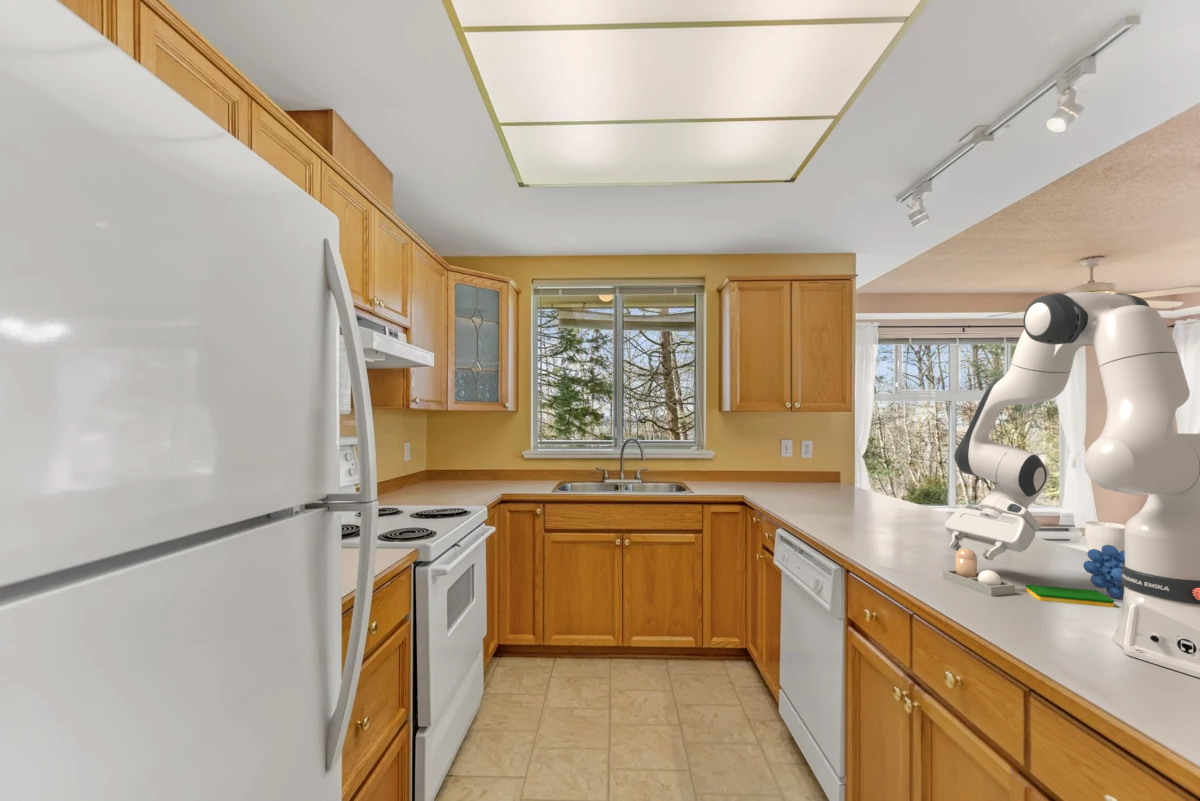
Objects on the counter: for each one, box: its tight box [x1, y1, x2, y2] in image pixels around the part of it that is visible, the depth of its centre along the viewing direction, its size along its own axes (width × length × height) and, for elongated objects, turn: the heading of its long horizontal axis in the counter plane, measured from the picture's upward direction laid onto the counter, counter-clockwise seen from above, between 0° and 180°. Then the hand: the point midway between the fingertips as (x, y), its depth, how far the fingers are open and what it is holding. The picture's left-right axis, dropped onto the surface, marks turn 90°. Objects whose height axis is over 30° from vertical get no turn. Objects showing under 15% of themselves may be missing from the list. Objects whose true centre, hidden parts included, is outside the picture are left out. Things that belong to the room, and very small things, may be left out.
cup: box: [1084, 520, 1126, 561], centre depth 149 cm, size 9×9×12 cm
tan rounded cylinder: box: [955, 547, 978, 578], centre depth 137 cm, size 4×4×8 cm
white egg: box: [978, 569, 1002, 586], centre depth 131 cm, size 5×5×5 cm
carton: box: [942, 569, 1016, 597], centre depth 134 cm, size 13×7×2 cm, turn 14°
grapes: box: [1082, 545, 1125, 599], centre depth 126 cm, size 12×7×12 cm, turn 57°
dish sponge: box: [1025, 584, 1115, 608], centre depth 125 cm, size 7×14×2 cm, turn 72°
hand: (969, 553), depth 137 cm, fingers open, 8 cm apart
